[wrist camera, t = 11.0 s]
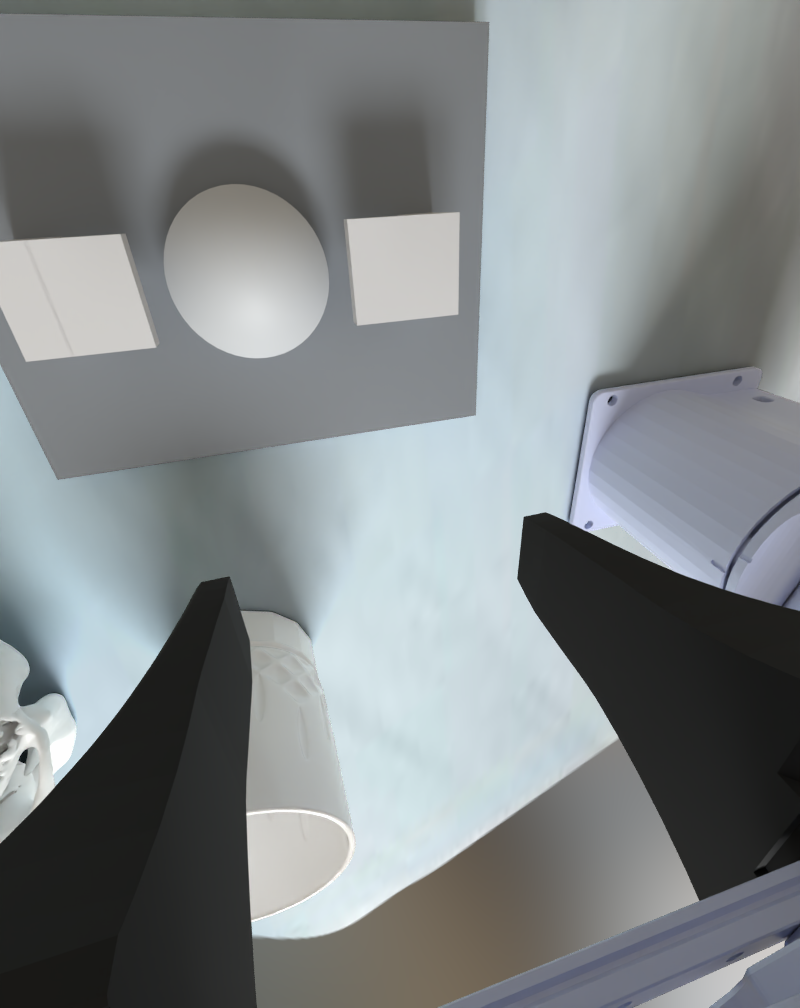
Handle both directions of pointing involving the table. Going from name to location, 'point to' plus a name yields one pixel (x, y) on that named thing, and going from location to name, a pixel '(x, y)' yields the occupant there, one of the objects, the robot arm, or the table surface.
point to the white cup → (291, 773)
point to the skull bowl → (28, 742)
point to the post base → (237, 230)
